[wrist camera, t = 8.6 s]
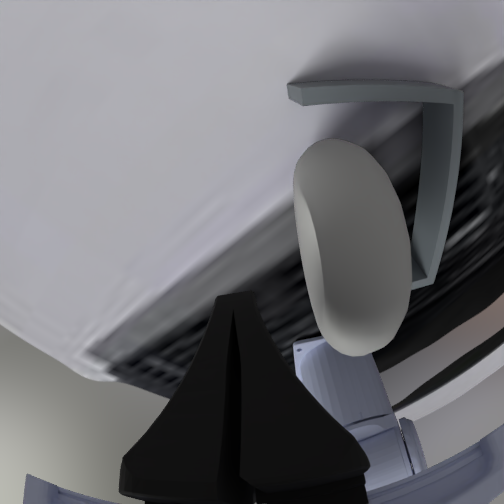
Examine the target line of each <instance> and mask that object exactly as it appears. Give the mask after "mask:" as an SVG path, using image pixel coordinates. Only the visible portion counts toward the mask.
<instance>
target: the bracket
mask: <svg viewBox="0 0 504 504" xmlns="http://www.w3.org/2000/svg"><path fill="white" fill-rule="evenodd" d="M287 89H288V96H289V99H291V100H293V101H295V102H296V103H298V104H300V105H302V106H309V105H319V104H331V103H347V102H371V101H408V102H423V135H422V156H421V170H420V181H419V191H418V200H417V208H416V215H415V222H414V228H413V234H412V240H411V245H410V247H411V263H412V286H411V290H413V289H417V288H420V287H424V286H427V285H430V284H433V283H434V280H435V277H436V274H437V270H438V267H439V263H440V260H441V256H442V252H443V249H444V245H445V241H446V237H447V232H448V228H449V223H450V219H451V214H452V209H453V203H454V198H455V192H456V186H457V179H458V172H459V164H460V155H461V144H462V130H463V104H464V91H461V90H458V89H454V88H450V87H447V86H443V85H439V84H435V83H429V82H417V81H402V80H331V81H315V82H303V83H293V84H287Z"/></svg>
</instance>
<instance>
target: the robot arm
mask: <svg viewBox="0 0 504 504" xmlns="http://www.w3.org/2000/svg"><path fill="white" fill-rule="evenodd" d="M293 350H294V359H295V369H296V374H295V373H294V372H293V370H292V369H291V367H290V366H289V365H288V363H287V362H286V360H285V359H284V357H283V356H282V354H281V353H280V351H279V349H278V348H277V346H276V344H275V343H274V341H273V339H272V337H271V335H270V334H269V332H268V330H267V328H266V326H265V324H264V322H263V320H262V317H261V315H260V312H259V310H258V307H257V303H256V298H255V294H254V292H253V291H251V290H250V291H244V292H238V293H232V294H226V295H220V296H217V298H216V299H215V303H214V306H213V310H212V313H211V316H210V319H209V322H208V324H207V327H206V330H205V332H204V335H203V337H202V340H201V342H200V345H199V347H198V349H197V351H196V353H195V356H194V358H193V360H192V362H191V364H190V366H189V368H188V370H187V372H186V374H185V376H184V378H183V379H182V381H181V383H180V385H179V386H178V388H177V390H176V391H175V393H174V394H173V396H172V397H171V399H170V401H169V402H168V404H167V405H166V407H165V408H164V409H163V411H162V412H161V414H160V415H159V416H158V418H157V419H156V420H155V421H154V423H153V424H152V425H151V426H150V428H149V429H148V430H147V432H146V433H145V434H144V435H143V436H142V437H141V438H140V439H139V440H138V442H137V443H136V444H135V445H134V446H133V447H132V448H131V449H130V450H129V451H128V452H127V453H126V454H125V455H124V457H123V460H122V464H121V469H120V479H119V493H120V494H122V495H124V496H127V497H131V498H135V499H139V500H143V501H145V504H254V503H255V502H256V503H257V504H489V503H490V502H491V501H492V500H494V499H495V498H496V497H497V496H498V495H500V494H501V493H502V492H503V491H504V424H503V425H501V426H500V427H498V428H497V429H495V430H494V431H492V432H491V433H490V434H488V435H487V436H485V437H484V438H482V439H481V440H480V441H479V442H477V443H475V444H474V445H472V446H470V447H469V448H467V449H465V450H463V451H462V452H460V453H458V454H456V455H454V456H452V457H450V458H449V459H447V460H445V461H443V462H441V463H438V464H436V465H434V466H432V467H430V468H427V464H426V460H425V457H424V453H423V450H422V447H421V444H420V440H419V437H418V435H417V432H416V429H415V426H414V424H413V422H412V420H409V419H406V418H405V417H403V418H401V419H399V422H400V425H401V428H402V430H401V431H402V434H403V437H404V440H403V437H402V434H401V431H400V427H399V424H398V421H397V419H396V416H395V414H394V413H393V410H392V407H391V405H390V402H389V399H388V396H387V393H386V391H385V388H384V385H383V382H382V379H381V377H380V374H379V371H378V369H377V366H376V363H375V361H374V358H373V356H372V353H369V354H367V355H365V356H354V357H352V356H349V355H345V354H342V353H340V352H339V351H337V350H336V349H334V348H333V347H332V346H331V345H330V344H329V343H328V342H327V341H326V340H325V338H324V337H323V336H319V337H314V338H309V339H305V340H300V341H296V342H294V344H293ZM411 464H412V466H411ZM412 467H413V470H412ZM23 504H119V503H114V502H109V501H105V500H101V499H97V498H93V497H89V496H85V495H83V494H79V493H76V492H73V491H70V490H66V489H64V488H61V487H58V486H57V485H54V484H52V483H49V482H46V481H44V480H42V479H39V478H37V477H34V476H32V475H30V474H27V475H26V482H25V489H24V499H23Z"/></svg>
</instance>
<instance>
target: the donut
mask: <svg viewBox="0 0 504 504" xmlns="http://www.w3.org/2000/svg"><path fill="white" fill-rule="evenodd" d="M293 194H294V208H295V218H296V226H297V234H298V240H299V246H300V253H301V258H302V264H303V269H304V274H305V279H306V284H307V288H308V293H309V297H310V301H311V305H312V308H313V311H314V315H315V318H316V321H317V325H318V327H319V329H320V332H321V334H322V336H323V337H324V338H325V340H326V341H327V342H328V343H329V344H330V345H331V346H332V347H333V348H334V349H336V350H337V351H339V352H340V353H342V354H345V355H349V356H352V357H354V356H365V355H367V354H369V353H372V352H374V351H376V350H378V349H381V348H383V347H385V346H386V345H387V344H388V343H389V342H390V341H391V340H392V339H393V338H394V336H395V335H396V333H397V331H398V329H399V327H400V325H401V323H402V321H403V319H404V317H405V315H406V313H407V311H408V305H409V299H410V292H411V286H412V263H411V247H410V239H409V235H408V231H407V226H406V222H405V218H404V214H403V210H402V207H401V203H400V201H399V199H398V196H397V194H396V192H395V190H394V188H393V186H392V183H391V181H390V179H389V177H388V175H387V173H386V172H385V171H384V169H383V168H382V167H381V166H380V165H379V164H378V162H377V161H376V160H375V159H374V158H373V156H372V155H371V154H369V153H368V152H367V151H366V150H365V149H364V148H362V147H360V146H358V145H355V144H353V143H350V142H347V141H345V140H342V139H332V138H328V139H324V140H321V141H317V142H316V143H315V144H313V145H312V146H310V147H309V148H308V149H307V150H306V151H305V152H304V153H303V155H302V156H301V157H300V159H299V160H298V162H297V164H296V168H295V171H294V178H293Z"/></svg>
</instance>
